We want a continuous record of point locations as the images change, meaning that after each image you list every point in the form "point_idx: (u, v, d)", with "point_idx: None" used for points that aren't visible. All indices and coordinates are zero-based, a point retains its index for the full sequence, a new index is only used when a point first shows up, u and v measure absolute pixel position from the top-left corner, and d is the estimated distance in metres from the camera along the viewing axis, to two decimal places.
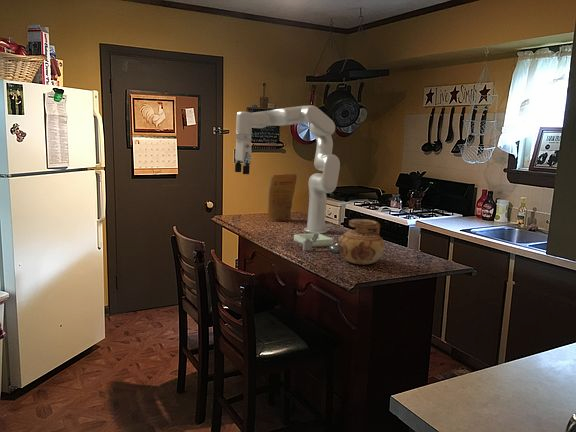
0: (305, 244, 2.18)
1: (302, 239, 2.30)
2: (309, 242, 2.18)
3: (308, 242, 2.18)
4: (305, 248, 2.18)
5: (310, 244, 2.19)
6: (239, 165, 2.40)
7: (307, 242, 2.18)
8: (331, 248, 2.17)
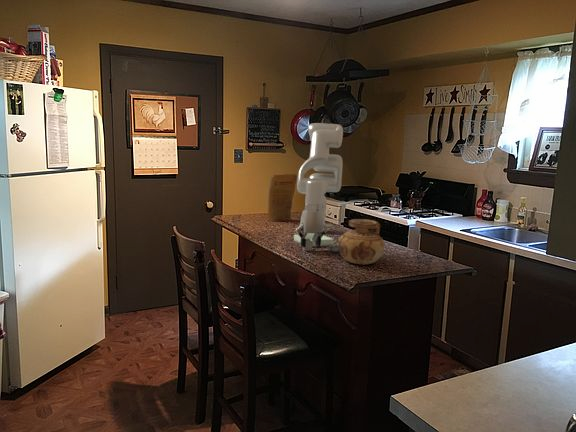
0: None
1: None
2: (309, 242, 2.18)
3: (308, 242, 2.18)
4: (305, 248, 2.18)
5: (310, 244, 2.19)
6: None
7: (307, 242, 2.18)
8: (331, 248, 2.17)
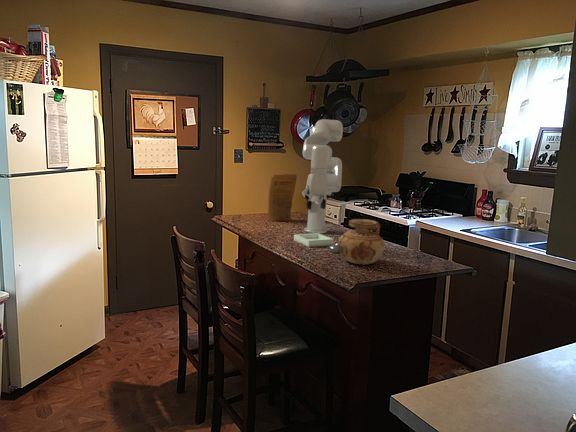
0: (311, 206, 2.30)
1: (302, 239, 2.30)
2: (314, 204, 2.30)
3: (313, 204, 2.30)
4: (311, 210, 2.30)
5: (315, 206, 2.31)
6: None
7: (313, 204, 2.30)
8: (331, 248, 2.17)
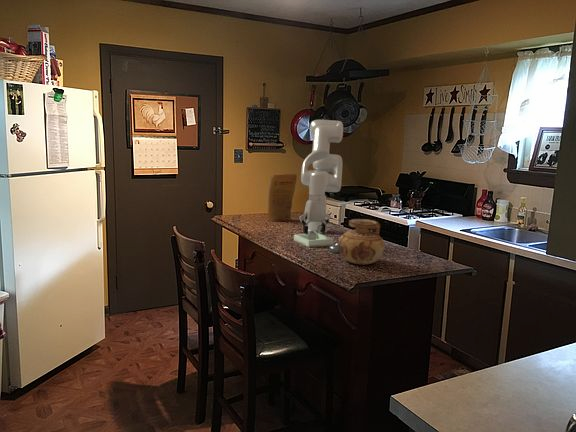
0: (309, 235, 2.32)
1: (302, 239, 2.30)
2: (313, 234, 2.33)
3: (312, 234, 2.33)
4: (309, 239, 2.33)
5: (314, 235, 2.33)
6: None
7: (311, 234, 2.33)
8: (331, 248, 2.17)
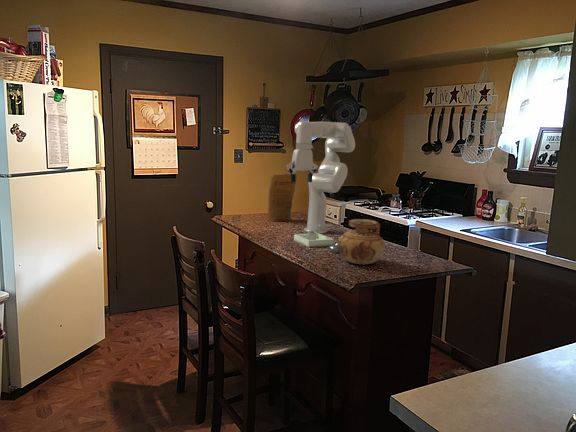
0: (309, 235, 2.32)
1: (302, 239, 2.30)
2: (313, 234, 2.33)
3: (312, 234, 2.33)
4: (309, 239, 2.33)
5: (314, 235, 2.33)
6: None
7: (311, 234, 2.33)
8: (331, 248, 2.17)
